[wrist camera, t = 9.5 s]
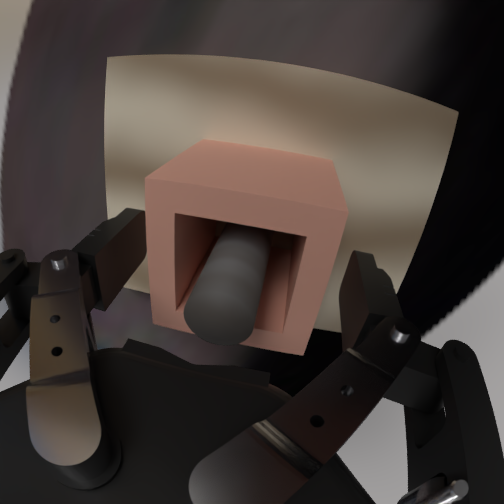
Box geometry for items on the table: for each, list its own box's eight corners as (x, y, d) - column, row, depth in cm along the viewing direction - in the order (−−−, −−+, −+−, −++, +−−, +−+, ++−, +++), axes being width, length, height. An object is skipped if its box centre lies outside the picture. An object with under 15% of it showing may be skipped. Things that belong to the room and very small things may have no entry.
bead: (202, 139, 14) (144, 177, 9) (332, 160, 14) (348, 212, 9) (196, 249, 17) (153, 323, 12) (306, 269, 17) (303, 355, 12)
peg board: (122, 57, 14) (-21, 69, 6) (446, 108, 13) (573, 158, 4) (125, 272, 21) (51, 374, 13) (371, 321, 20) (389, 451, 12)
